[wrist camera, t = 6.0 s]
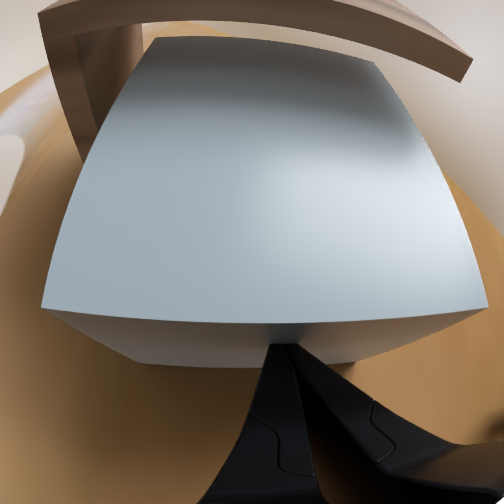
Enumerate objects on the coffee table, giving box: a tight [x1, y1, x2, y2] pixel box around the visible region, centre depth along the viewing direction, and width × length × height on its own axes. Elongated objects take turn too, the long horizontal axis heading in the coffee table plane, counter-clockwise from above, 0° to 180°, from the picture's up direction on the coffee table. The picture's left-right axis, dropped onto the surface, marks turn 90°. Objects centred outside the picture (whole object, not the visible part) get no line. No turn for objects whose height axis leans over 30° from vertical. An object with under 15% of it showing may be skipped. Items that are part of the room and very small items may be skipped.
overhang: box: [38, 0, 473, 164], centre depth 14 cm, size 11×18×14 cm, turn 91°
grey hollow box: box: [41, 36, 488, 368], centre depth 14 cm, size 14×12×10 cm
